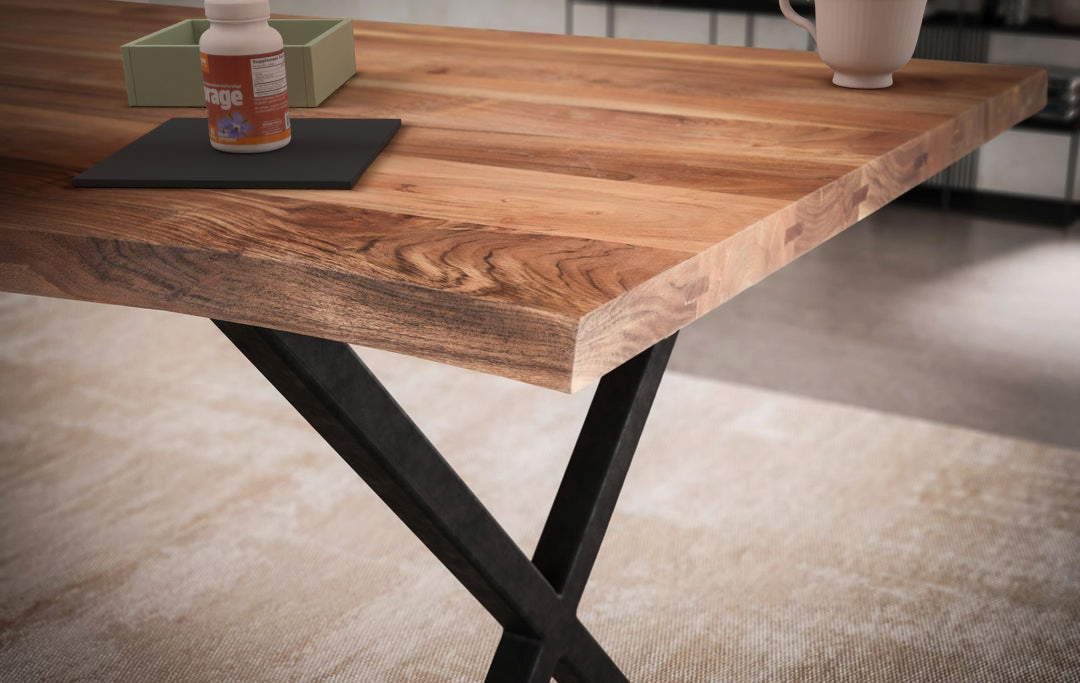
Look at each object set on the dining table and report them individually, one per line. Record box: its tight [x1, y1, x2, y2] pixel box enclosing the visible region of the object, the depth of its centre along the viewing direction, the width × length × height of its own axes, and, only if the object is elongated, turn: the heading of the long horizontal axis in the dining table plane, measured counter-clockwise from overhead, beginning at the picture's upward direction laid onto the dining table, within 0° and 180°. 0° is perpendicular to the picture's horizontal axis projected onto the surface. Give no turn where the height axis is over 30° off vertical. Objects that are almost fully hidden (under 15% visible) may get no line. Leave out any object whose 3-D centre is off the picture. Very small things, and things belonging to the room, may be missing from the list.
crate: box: [120, 18, 357, 108], centre depth 114 cm, size 18×18×6 cm
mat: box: [71, 117, 403, 190], centre depth 91 cm, size 20×20×1 cm
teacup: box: [778, 0, 928, 90], centre depth 113 cm, size 12×15×10 cm
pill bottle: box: [199, 0, 291, 153], centre depth 89 cm, size 6×6×11 cm
